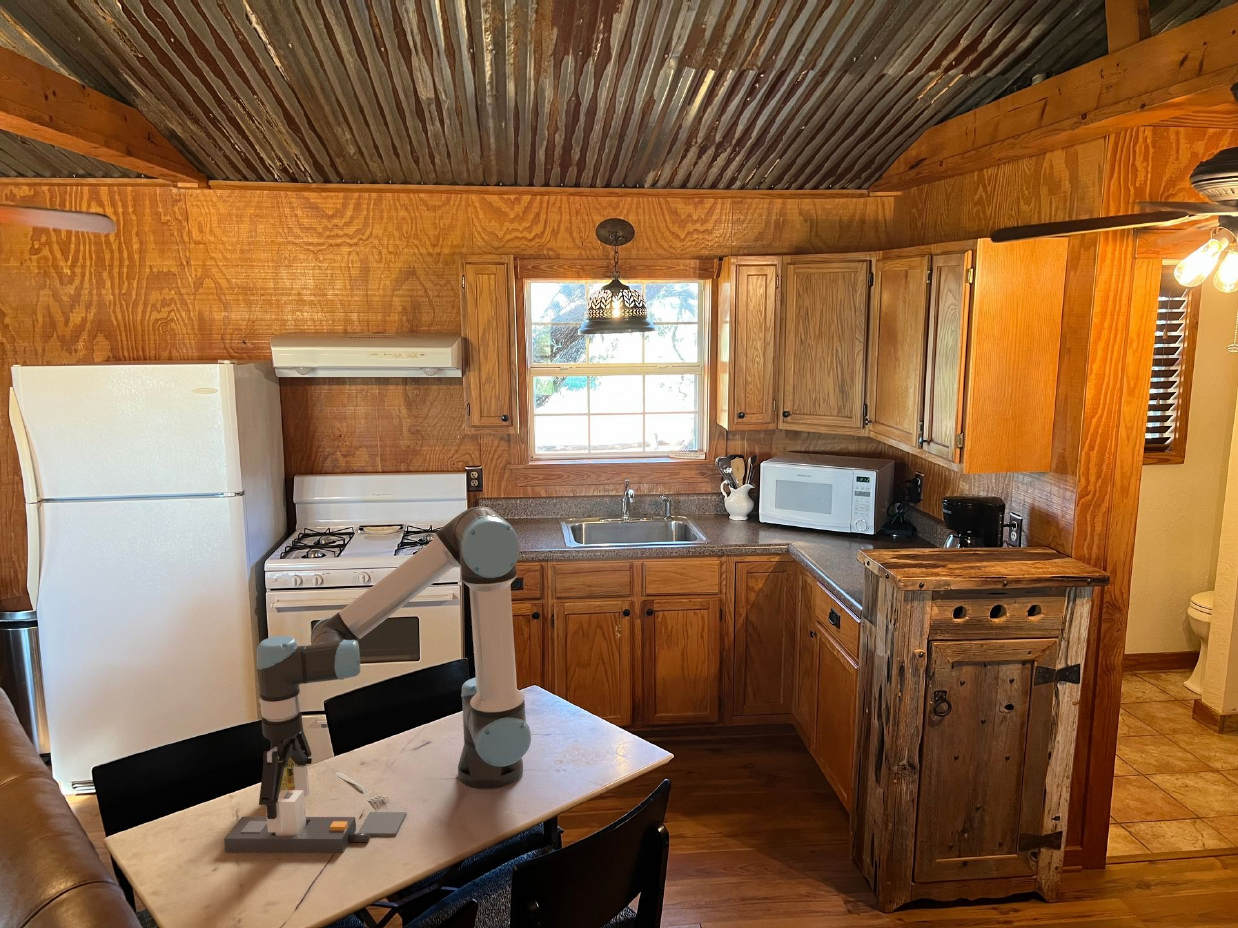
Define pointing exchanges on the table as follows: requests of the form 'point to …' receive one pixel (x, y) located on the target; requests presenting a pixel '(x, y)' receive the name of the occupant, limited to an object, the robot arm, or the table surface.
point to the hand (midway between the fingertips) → (289, 812)
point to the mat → (382, 823)
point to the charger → (292, 812)
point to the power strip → (313, 839)
